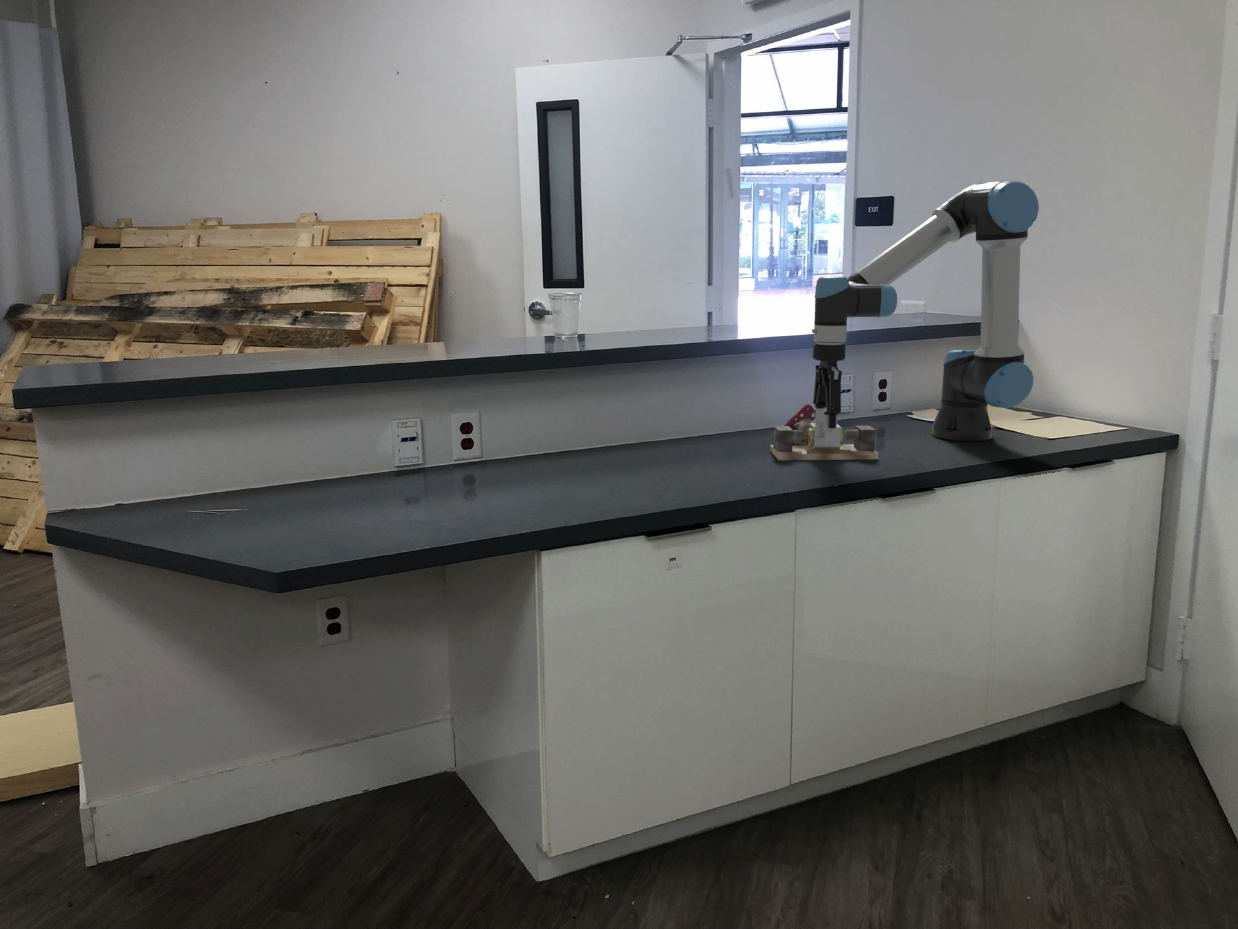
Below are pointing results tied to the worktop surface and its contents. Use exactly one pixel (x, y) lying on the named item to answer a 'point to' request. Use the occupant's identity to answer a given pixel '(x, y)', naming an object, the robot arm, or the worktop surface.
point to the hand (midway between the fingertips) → (825, 438)
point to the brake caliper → (804, 424)
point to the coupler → (822, 437)
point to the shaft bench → (856, 451)
